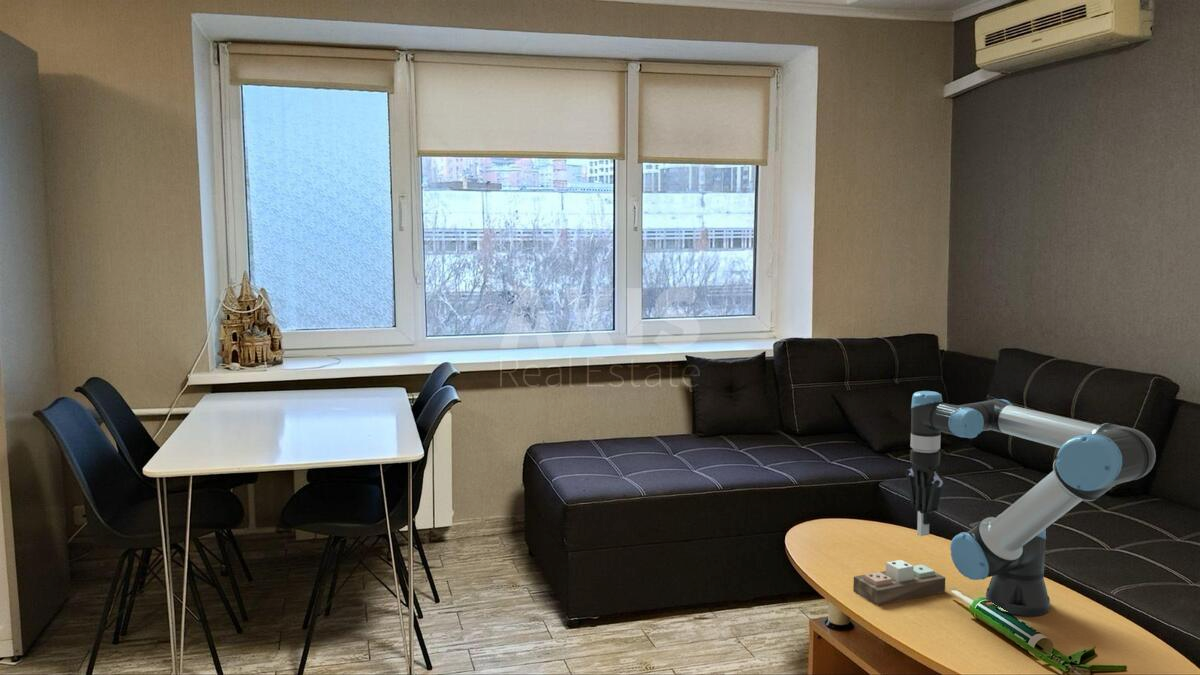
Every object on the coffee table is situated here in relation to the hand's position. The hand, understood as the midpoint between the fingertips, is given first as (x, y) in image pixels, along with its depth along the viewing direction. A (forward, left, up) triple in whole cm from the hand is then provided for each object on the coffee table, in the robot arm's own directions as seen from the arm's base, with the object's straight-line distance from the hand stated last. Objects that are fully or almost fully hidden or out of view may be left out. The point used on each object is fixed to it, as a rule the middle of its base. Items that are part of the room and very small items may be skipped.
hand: (923, 534), depth 245 cm
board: (0, +7, -15) cm, 17 cm away
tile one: (0, 0, -15) cm, 15 cm away
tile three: (0, +14, -15) cm, 21 cm away
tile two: (0, +7, -12) cm, 14 cm away
